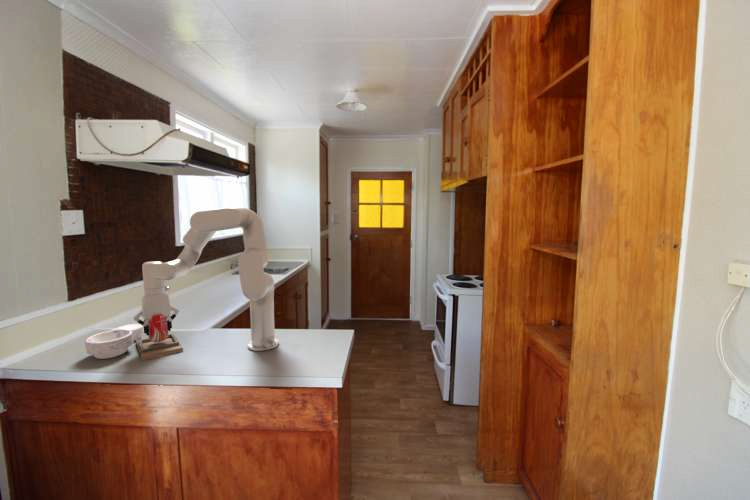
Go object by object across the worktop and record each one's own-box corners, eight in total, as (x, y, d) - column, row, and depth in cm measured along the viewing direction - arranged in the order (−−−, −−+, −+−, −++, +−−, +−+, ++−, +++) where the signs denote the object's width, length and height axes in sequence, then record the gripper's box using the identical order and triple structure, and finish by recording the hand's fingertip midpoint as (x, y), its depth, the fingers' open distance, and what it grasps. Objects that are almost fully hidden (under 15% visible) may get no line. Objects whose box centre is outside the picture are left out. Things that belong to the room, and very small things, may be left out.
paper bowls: (76, 361, 133) (74, 341, 132) (111, 346, 148) (109, 328, 147) (111, 363, 131) (109, 343, 130) (143, 347, 146) (141, 329, 145)
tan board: (182, 351, 143) (182, 347, 142) (142, 360, 134) (141, 356, 134) (173, 336, 159) (173, 333, 159) (136, 343, 151) (136, 340, 151)
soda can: (147, 340, 146) (144, 312, 145) (166, 335, 151) (163, 309, 150) (151, 344, 141) (148, 316, 140) (170, 340, 146) (168, 312, 145)
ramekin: (109, 345, 150) (107, 333, 149) (119, 336, 160) (118, 325, 160) (138, 342, 153) (137, 330, 152) (147, 333, 163) (146, 322, 163)
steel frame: (179, 344, 146) (179, 342, 145) (142, 352, 137) (141, 349, 137) (173, 336, 156) (173, 333, 155) (138, 343, 147) (138, 340, 147)
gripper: (177, 286, 152) (180, 325, 154) (128, 292, 141) (132, 334, 143) (180, 289, 146) (183, 330, 148) (130, 296, 135) (134, 340, 138)
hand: (158, 332), depth 146 cm, fingers open, 7 cm apart
